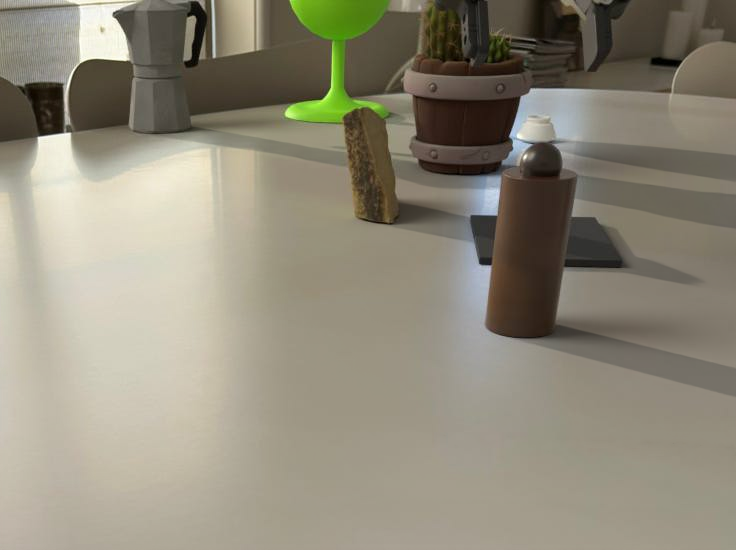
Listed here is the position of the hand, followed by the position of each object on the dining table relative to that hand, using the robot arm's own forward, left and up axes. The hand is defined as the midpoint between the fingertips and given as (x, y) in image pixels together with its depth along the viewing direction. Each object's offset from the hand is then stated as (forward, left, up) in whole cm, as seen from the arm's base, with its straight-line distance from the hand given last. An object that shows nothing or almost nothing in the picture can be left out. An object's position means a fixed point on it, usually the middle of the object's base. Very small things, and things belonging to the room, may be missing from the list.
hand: (538, 62), depth 76 cm
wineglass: (+19, -93, -16) cm, 97 cm away
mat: (-4, -16, -16) cm, 23 cm away
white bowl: (-9, -71, -16) cm, 74 cm away
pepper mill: (0, +9, -16) cm, 18 cm away
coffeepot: (+43, -79, -16) cm, 92 cm away
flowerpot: (+2, -52, -16) cm, 55 cm away
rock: (+11, -28, -16) cm, 34 cm away
